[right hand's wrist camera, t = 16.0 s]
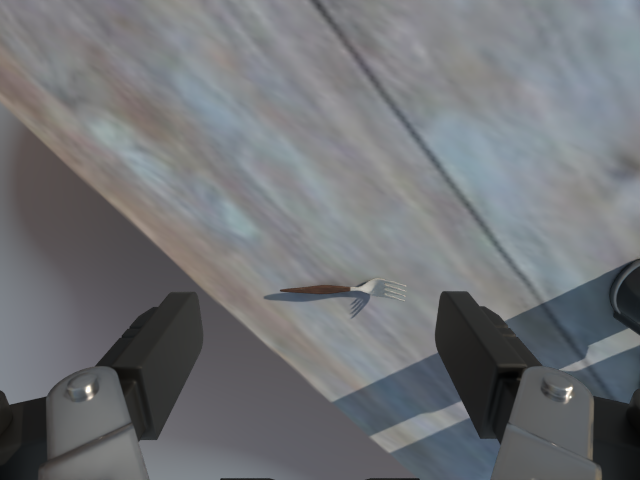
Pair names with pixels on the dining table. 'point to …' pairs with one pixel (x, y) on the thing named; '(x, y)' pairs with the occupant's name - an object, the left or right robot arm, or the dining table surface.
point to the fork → (352, 289)
